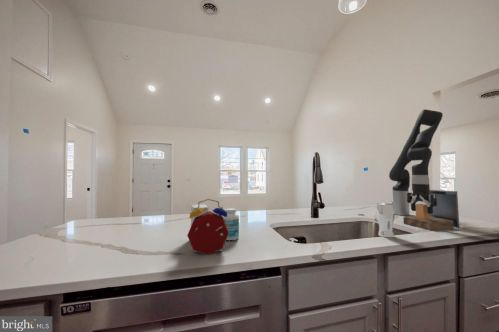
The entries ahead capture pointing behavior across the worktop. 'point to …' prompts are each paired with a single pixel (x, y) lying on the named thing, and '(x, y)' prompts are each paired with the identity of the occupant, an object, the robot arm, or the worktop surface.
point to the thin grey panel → (446, 206)
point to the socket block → (429, 223)
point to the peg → (422, 212)
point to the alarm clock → (208, 230)
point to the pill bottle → (232, 224)
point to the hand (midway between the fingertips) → (421, 212)
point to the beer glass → (385, 219)
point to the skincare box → (198, 208)
